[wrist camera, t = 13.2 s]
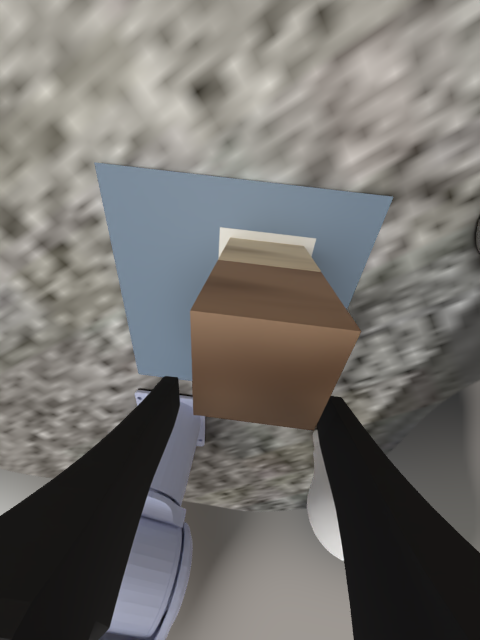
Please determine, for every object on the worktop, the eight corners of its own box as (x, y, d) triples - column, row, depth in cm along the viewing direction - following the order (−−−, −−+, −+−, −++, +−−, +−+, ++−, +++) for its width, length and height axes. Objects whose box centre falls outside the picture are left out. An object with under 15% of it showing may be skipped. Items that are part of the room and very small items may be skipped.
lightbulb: (292, 440, 28) (307, 567, 19) (300, 409, 25) (324, 546, 16) (341, 444, 28) (381, 576, 19) (355, 414, 25) (414, 556, 15)
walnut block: (296, 351, 13) (313, 430, 9) (214, 341, 13) (193, 414, 9) (321, 271, 11) (361, 331, 6) (218, 259, 11) (190, 310, 6)
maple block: (288, 310, 17) (297, 351, 13) (225, 302, 18) (214, 341, 13) (303, 246, 15) (321, 271, 11) (230, 237, 15) (218, 259, 11)
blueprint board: (310, 391, 23) (311, 397, 23) (141, 369, 23) (138, 374, 23) (388, 196, 14) (394, 197, 13) (100, 163, 14) (93, 162, 13)
